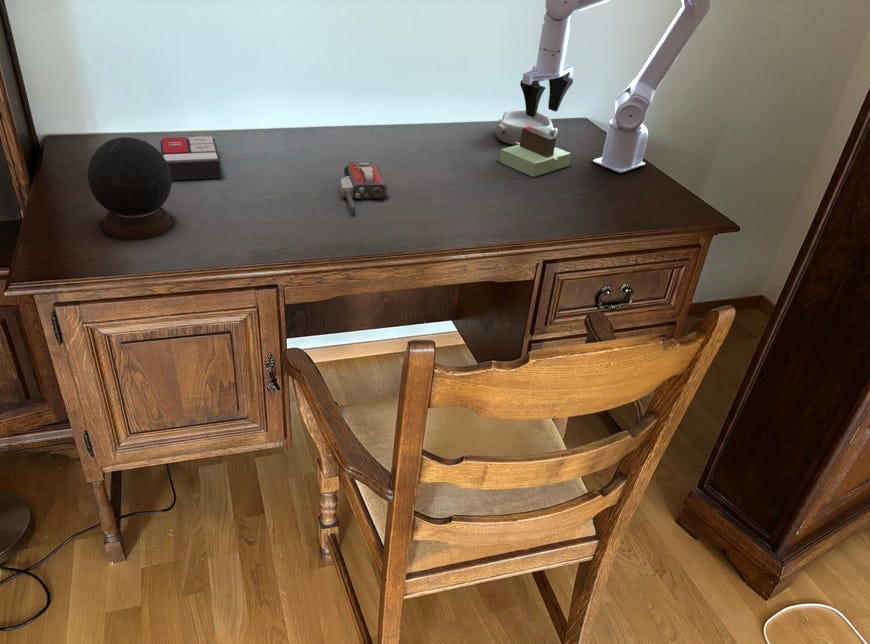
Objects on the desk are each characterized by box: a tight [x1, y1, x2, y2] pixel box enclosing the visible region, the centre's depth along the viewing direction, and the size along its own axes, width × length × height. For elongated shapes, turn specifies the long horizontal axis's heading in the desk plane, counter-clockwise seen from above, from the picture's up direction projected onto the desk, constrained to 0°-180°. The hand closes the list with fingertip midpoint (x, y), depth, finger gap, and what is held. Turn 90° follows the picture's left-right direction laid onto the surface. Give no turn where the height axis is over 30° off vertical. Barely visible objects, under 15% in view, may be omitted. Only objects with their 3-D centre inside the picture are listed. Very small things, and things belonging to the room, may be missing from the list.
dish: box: [495, 109, 558, 146], centre depth 178 cm, size 14×14×5 cm
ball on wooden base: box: [87, 136, 173, 240], centre depth 125 cm, size 13×13×15 cm
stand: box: [499, 142, 572, 178], centre depth 165 cm, size 12×12×3 cm
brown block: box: [520, 126, 557, 157], centre depth 163 cm, size 8×2×4 cm, turn 41°
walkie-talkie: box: [339, 161, 387, 212], centre depth 145 cm, size 9×4×20 cm
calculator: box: [159, 135, 223, 181], centre depth 151 cm, size 11×4×15 cm
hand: (541, 113), depth 166 cm, fingers open, 7 cm apart
